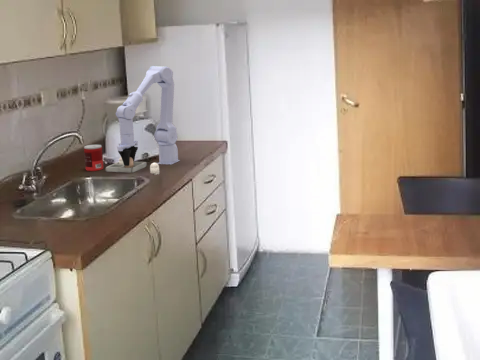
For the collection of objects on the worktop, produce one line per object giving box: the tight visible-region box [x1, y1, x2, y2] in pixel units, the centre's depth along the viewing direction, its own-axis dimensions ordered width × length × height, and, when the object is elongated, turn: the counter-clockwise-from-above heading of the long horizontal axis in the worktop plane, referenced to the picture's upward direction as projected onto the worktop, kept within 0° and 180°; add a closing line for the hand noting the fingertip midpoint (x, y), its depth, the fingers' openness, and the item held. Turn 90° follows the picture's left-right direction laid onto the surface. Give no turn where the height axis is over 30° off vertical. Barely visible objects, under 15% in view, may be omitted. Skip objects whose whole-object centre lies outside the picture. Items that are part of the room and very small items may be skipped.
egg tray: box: [105, 161, 148, 174], centre depth 298 cm, size 13×13×2 cm
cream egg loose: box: [149, 162, 160, 176], centre depth 289 cm, size 4×4×5 cm
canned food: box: [83, 144, 104, 172], centre depth 299 cm, size 8×8×11 cm
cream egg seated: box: [118, 156, 124, 164], centre depth 302 cm, size 4×4×5 cm
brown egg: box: [125, 157, 134, 168], centre depth 294 cm, size 4×4×5 cm
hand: (129, 164), depth 294 cm, fingers closed on brown egg, 4 cm apart
